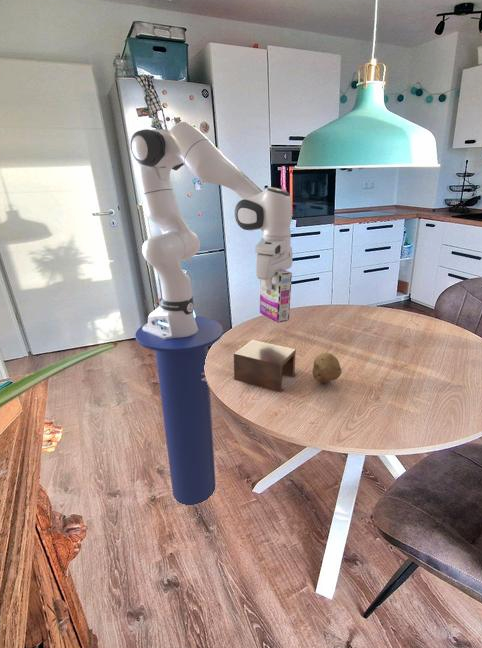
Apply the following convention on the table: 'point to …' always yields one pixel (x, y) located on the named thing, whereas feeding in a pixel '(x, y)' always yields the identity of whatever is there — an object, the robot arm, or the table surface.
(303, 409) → the table surface
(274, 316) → the candy bar box
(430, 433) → the table surface
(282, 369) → the walnut shelf
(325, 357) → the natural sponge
